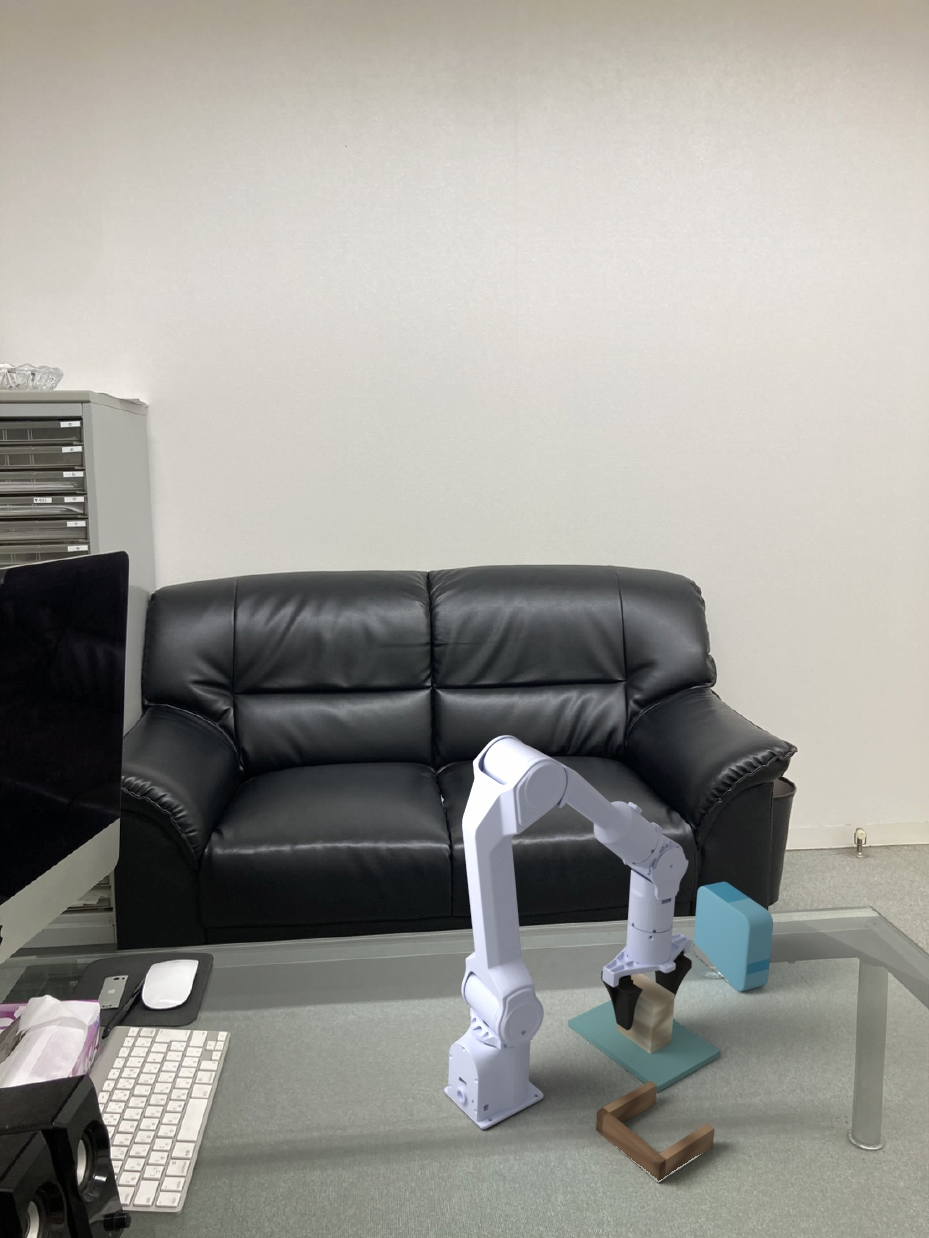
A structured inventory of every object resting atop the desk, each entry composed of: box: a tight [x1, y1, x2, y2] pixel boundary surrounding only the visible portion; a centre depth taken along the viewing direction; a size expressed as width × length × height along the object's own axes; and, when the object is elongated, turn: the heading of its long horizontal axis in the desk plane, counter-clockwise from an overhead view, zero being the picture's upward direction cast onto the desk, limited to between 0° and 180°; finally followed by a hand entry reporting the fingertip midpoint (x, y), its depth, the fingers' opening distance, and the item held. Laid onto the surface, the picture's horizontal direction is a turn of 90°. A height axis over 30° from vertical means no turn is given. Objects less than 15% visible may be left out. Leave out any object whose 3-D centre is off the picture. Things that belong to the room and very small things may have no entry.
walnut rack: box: [595, 1081, 715, 1181], centre depth 107 cm, size 9×10×2 cm
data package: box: [693, 881, 774, 992], centre depth 140 cm, size 12×4×12 cm, turn 23°
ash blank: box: [617, 973, 676, 1054], centre depth 124 cm, size 4×6×7 cm, turn 36°
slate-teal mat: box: [567, 999, 721, 1094], centre depth 125 cm, size 12×16×1 cm
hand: (644, 1015), depth 124 cm, fingers open, 7 cm apart
